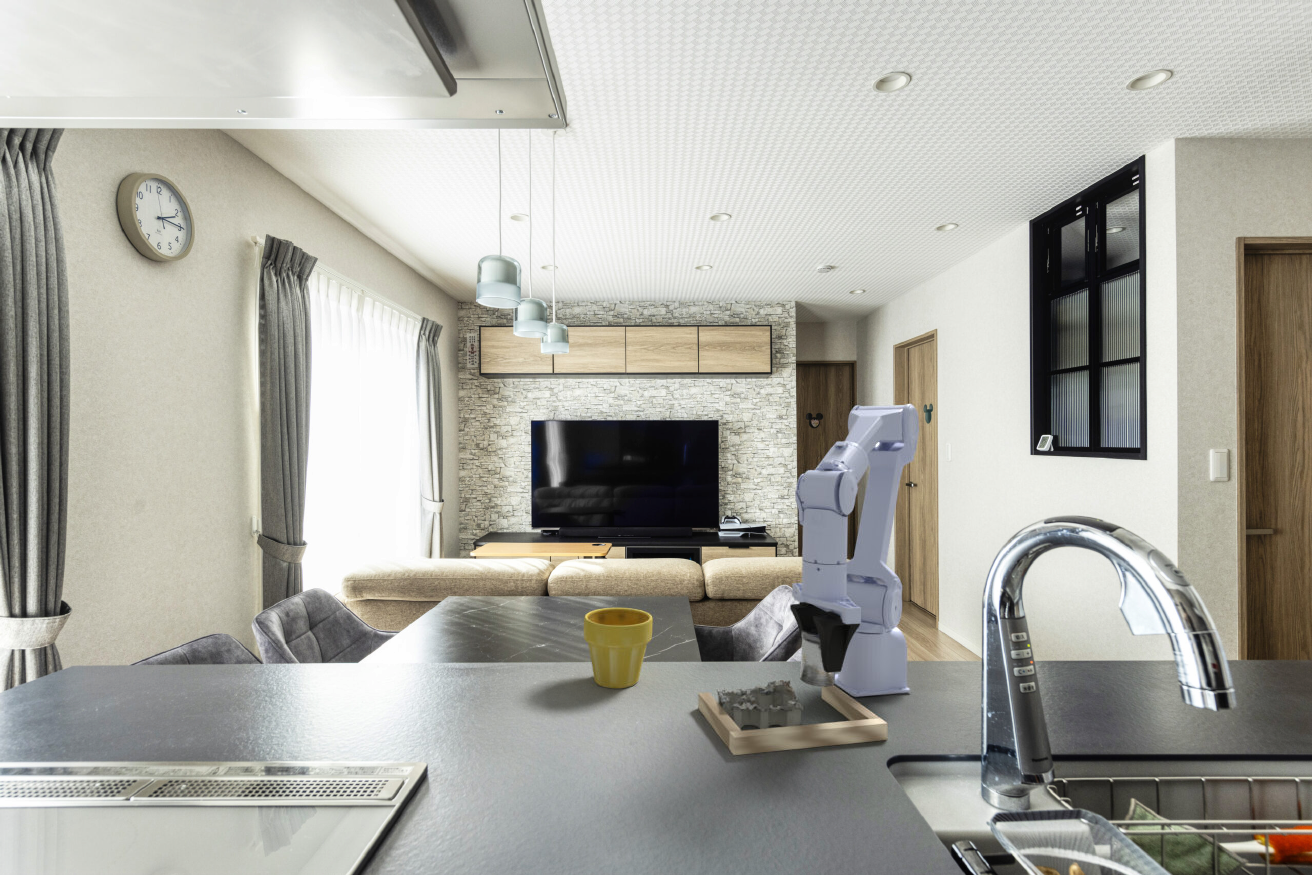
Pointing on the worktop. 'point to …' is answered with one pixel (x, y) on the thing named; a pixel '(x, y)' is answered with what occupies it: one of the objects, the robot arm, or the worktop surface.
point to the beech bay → (797, 727)
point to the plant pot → (617, 644)
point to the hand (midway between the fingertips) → (822, 664)
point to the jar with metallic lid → (813, 661)
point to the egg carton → (762, 705)
